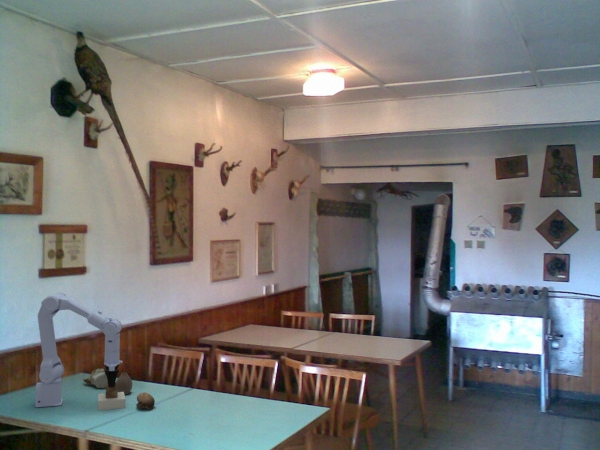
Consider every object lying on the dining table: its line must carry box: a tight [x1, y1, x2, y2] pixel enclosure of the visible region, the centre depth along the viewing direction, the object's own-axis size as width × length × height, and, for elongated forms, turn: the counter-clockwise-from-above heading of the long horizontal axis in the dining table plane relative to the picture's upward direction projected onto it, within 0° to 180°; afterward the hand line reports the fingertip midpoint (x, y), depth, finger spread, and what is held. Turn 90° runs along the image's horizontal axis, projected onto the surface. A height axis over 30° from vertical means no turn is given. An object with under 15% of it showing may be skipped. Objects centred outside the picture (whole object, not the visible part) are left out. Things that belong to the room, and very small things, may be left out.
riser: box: [97, 392, 126, 411], centre depth 233 cm, size 10×10×4 cm
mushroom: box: [135, 392, 155, 410], centre depth 230 cm, size 8×8×6 cm
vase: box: [116, 372, 133, 396], centre depth 249 cm, size 7×7×9 cm
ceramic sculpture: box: [82, 366, 108, 389], centre depth 260 cm, size 11×9×15 cm
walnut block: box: [105, 382, 118, 399], centre depth 233 cm, size 4×4×5 cm
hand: (111, 384), depth 233 cm, fingers open, 7 cm apart
